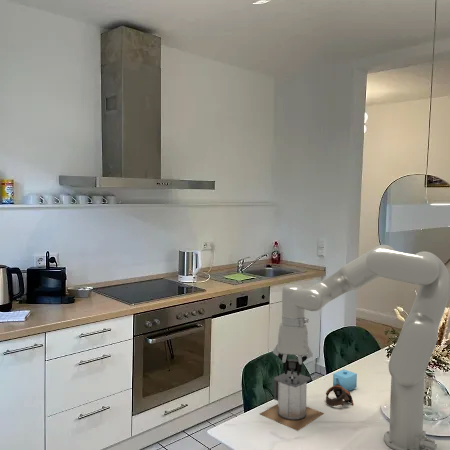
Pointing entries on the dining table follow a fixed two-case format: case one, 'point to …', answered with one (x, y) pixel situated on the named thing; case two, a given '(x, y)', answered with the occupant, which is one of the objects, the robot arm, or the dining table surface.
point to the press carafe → (291, 395)
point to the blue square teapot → (345, 379)
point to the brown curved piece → (338, 396)
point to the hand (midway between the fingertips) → (292, 373)
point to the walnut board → (296, 425)
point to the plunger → (292, 366)
